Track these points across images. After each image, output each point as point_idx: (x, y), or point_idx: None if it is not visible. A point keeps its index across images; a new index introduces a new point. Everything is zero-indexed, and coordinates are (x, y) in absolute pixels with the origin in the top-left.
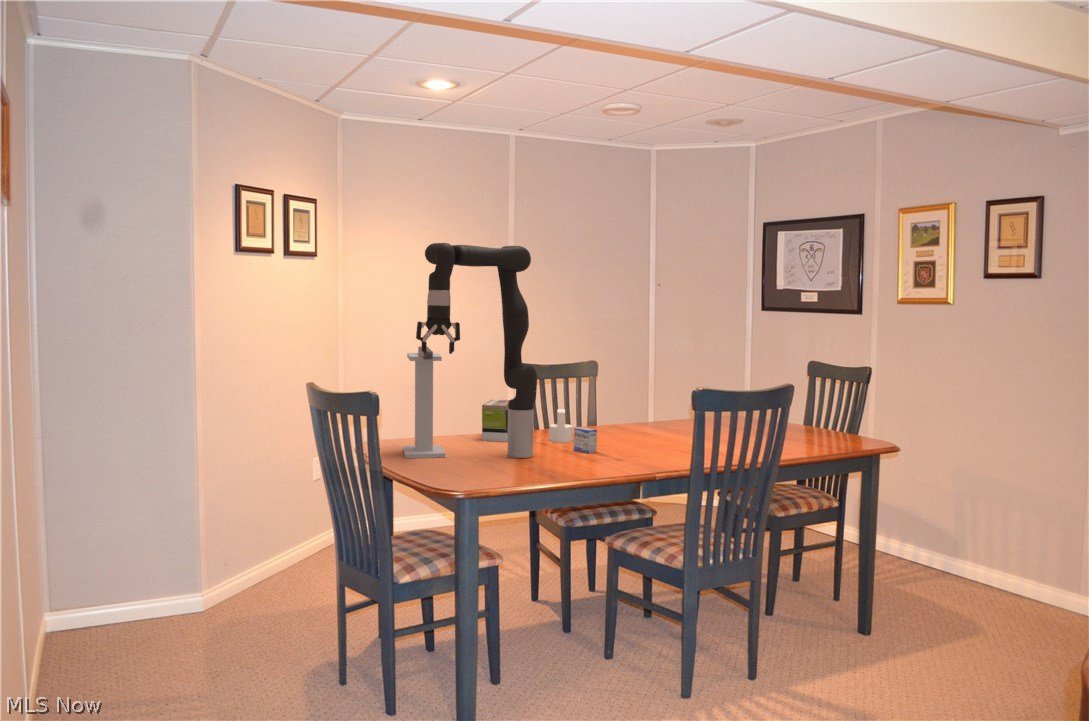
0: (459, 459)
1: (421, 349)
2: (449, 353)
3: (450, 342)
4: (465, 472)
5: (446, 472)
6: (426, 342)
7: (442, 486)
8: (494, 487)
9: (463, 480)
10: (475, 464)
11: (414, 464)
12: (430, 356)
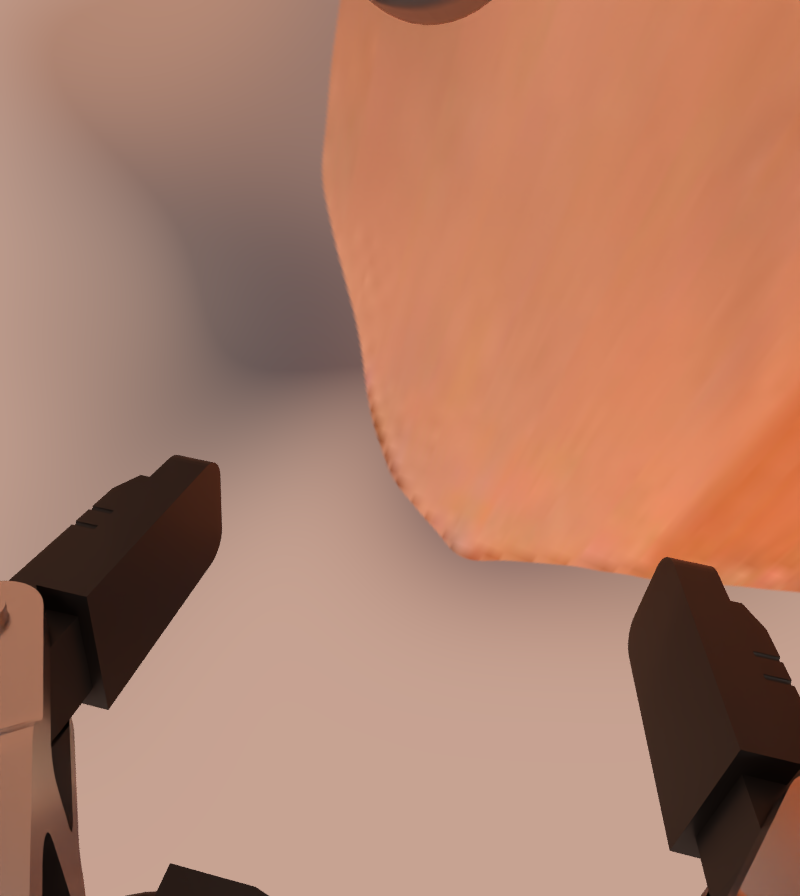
0: (717, 18)
1: (110, 494)
2: (648, 587)
3: (711, 817)
4: (589, 333)
5: (517, 304)
6: (109, 705)
7: (427, 487)
8: (573, 558)
9: (523, 445)
10: (721, 189)
11: (441, 78)
12: (448, 7)
